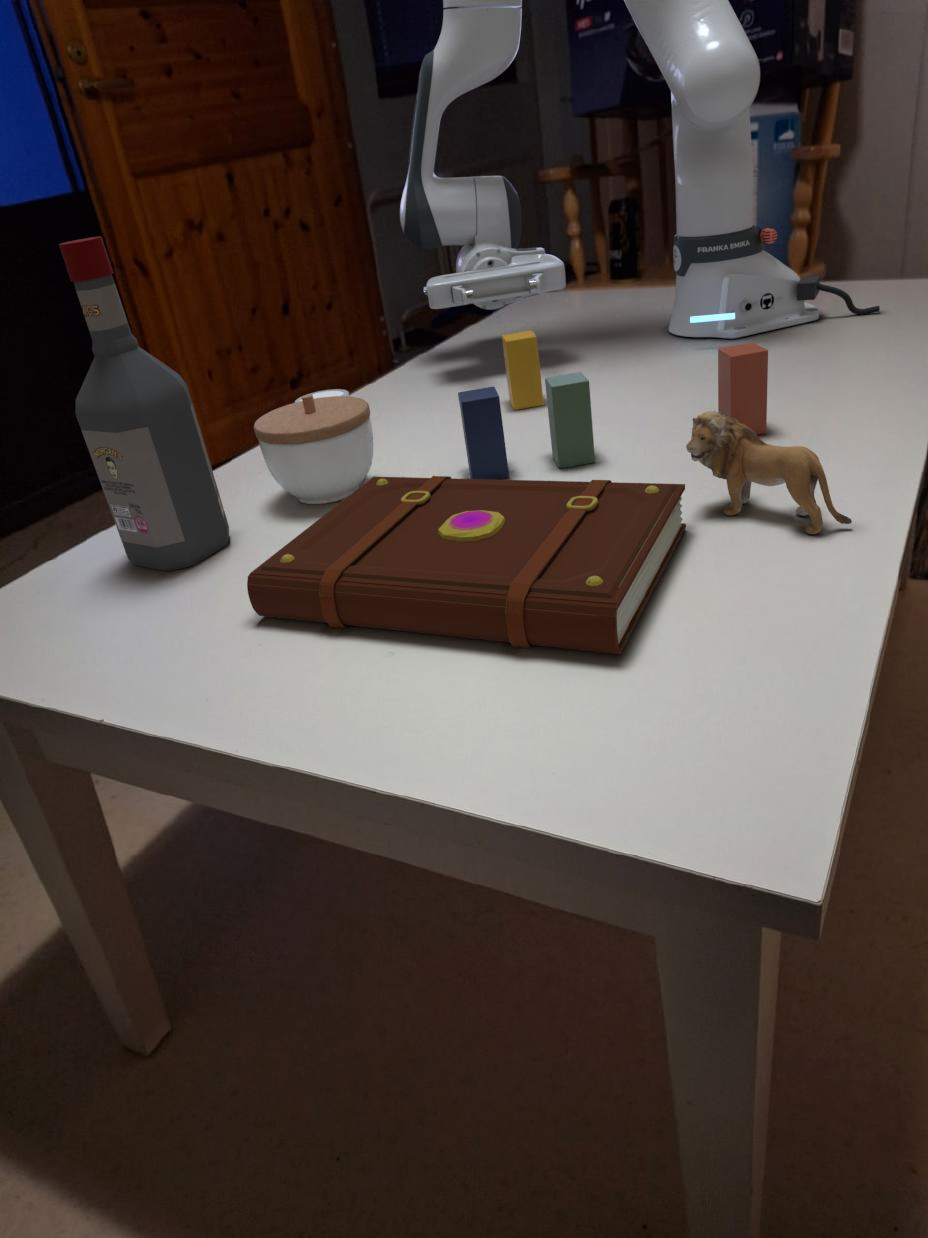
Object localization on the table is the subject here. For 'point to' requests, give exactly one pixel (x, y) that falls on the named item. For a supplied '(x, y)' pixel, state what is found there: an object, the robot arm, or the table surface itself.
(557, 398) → the sage block
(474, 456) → the navy block
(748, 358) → the terracotta block
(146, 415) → the liquor
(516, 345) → the mustard block
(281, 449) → the lidded bowl
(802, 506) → the lion figurine
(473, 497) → the book
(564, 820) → the table surface
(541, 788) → the table surface
